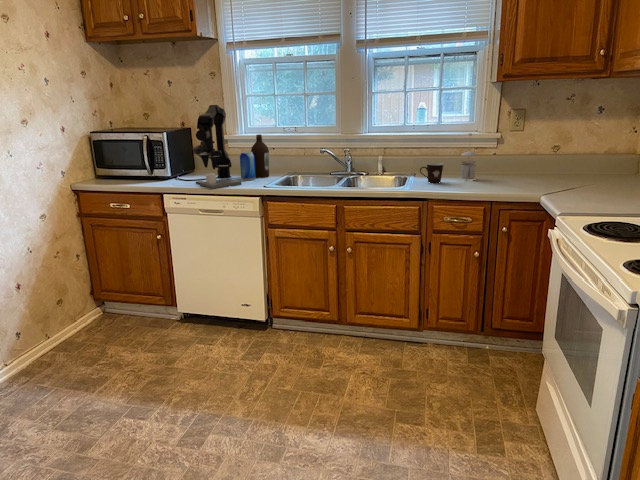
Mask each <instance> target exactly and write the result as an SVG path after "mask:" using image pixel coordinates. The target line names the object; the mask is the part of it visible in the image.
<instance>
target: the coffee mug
mask: <svg viewBox="0 0 640 480" xmlns="http://www.w3.org/2000/svg"><path fill="white" fill-rule="evenodd" d="M423 169H425V170H426V171H427V175H426V174H424V173H423V172H422V170H423ZM443 169H444V163H443V162H442V163H440V162H429V163H426V166H421V167H420V168H419V172H420V174H421V175H423V176H424V177H425V178H427V183H428V182H430V183H439V182H440V183H441V180H442V174H443ZM430 183H429V184H430ZM440 183H439V184H440Z"/></svg>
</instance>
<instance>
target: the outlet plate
mask: <svg viewBox="0 0 640 480" xmlns="http://www.w3.org/2000/svg"><path fill="white" fill-rule="evenodd" d="M199 186H200V187H202V188H206V189H209V190H216V189H217V190H218V189H225V188H229V186H231V187H236V186H242V181H241V180H237V179H233V178H230V177H229V178H220V179H216V183H213V184H207V183H206V181H204V182H200V185H199Z"/></svg>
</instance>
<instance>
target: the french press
mask: <svg viewBox="0 0 640 480" xmlns="http://www.w3.org/2000/svg"><path fill="white" fill-rule="evenodd" d="M467 136H469V137H471V136H473V134H472V133H468V135H467ZM468 143H469V144H468V145H469V147H468V151H465V152H462V153H461V154H460V156H462V157H467V159H468V160H462V161H461V163H462V164H460V171H459V173H460V176H459V178H460V179H466V180H467V179H474V178H475V179H476V164H475V163H476V161H474V160H473V158H471V159H470V157H475V156H477V154H476V153H475V152H473V151H470V149H471V148H470V146H471V140H469V142H468Z"/></svg>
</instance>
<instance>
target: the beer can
mask: <svg viewBox="0 0 640 480" xmlns="http://www.w3.org/2000/svg"><path fill="white" fill-rule="evenodd" d="M239 167H240V177H241V179H242V181H244V182H245V181H255V179H256V178H255V177H256V175H255V159H254V155H253V153H252V152H251V151H241V152H240V155H239Z"/></svg>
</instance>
